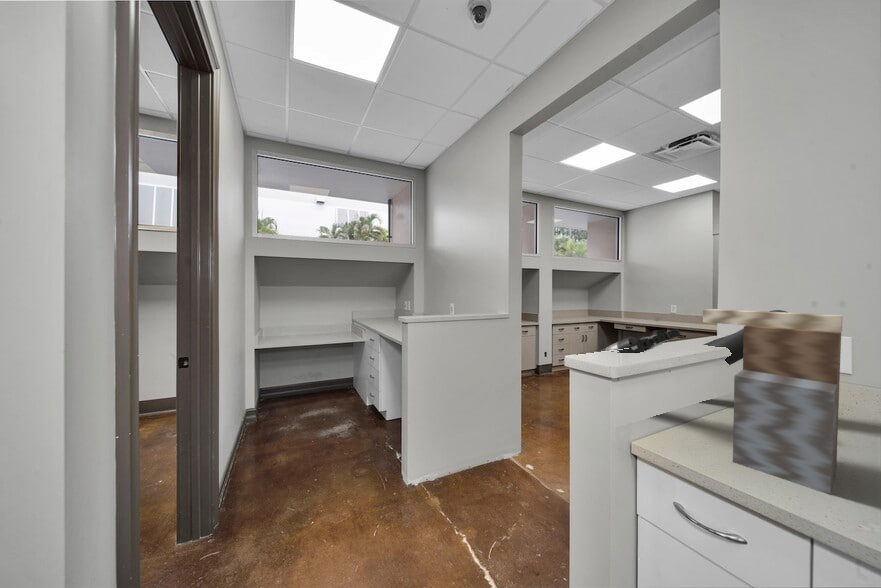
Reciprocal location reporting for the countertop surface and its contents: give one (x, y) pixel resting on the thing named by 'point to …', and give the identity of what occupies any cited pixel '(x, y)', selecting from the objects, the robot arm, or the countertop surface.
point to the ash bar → (775, 319)
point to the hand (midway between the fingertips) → (673, 333)
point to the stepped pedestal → (788, 404)
